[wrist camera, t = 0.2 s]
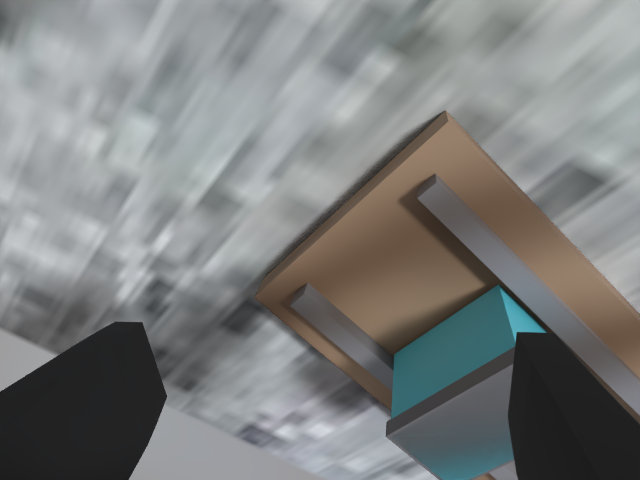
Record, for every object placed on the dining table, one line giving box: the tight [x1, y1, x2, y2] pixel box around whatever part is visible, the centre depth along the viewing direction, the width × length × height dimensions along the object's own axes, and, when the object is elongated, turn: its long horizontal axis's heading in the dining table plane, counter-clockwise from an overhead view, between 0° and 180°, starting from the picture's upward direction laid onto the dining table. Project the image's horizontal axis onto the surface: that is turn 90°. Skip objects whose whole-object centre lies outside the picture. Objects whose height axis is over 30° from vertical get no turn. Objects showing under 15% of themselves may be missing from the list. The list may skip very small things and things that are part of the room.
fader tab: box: [386, 284, 548, 480], centre depth 16 cm, size 3×5×4 cm, turn 138°
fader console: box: [254, 110, 640, 480], centre depth 19 cm, size 20×10×2 cm, turn 48°
